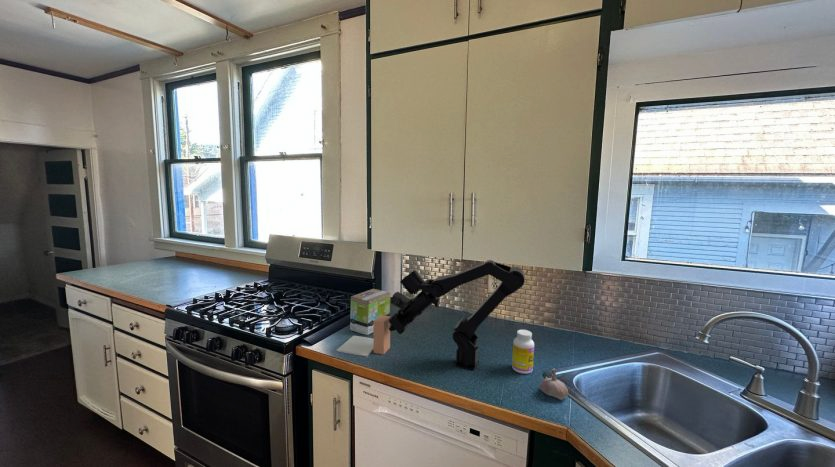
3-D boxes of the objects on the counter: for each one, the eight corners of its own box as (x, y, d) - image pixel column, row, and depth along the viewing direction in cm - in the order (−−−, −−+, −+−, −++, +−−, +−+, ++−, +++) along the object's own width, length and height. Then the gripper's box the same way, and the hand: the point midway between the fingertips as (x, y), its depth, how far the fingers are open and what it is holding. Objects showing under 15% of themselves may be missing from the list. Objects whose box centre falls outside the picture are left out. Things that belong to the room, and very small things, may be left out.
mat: (381, 341, 133) (381, 339, 133) (366, 356, 121) (366, 355, 121) (353, 336, 137) (353, 335, 137) (336, 351, 125) (336, 349, 125)
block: (390, 347, 129) (390, 316, 127) (383, 354, 123) (383, 322, 121) (380, 345, 130) (380, 315, 128) (373, 352, 124) (373, 320, 123)
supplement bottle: (529, 376, 110) (532, 338, 108) (509, 370, 113) (511, 333, 112) (534, 367, 115) (537, 331, 114) (515, 362, 119) (517, 326, 117)
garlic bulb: (534, 389, 103) (536, 364, 102) (555, 385, 105) (556, 361, 104) (551, 404, 96) (553, 377, 95) (573, 400, 98) (575, 374, 97)
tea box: (368, 336, 138) (368, 300, 136) (349, 330, 143) (349, 296, 141) (390, 324, 151) (390, 291, 149) (372, 319, 156) (372, 287, 154)
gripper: (412, 279, 130) (385, 304, 134) (394, 293, 112) (363, 321, 117) (432, 302, 128) (404, 326, 133) (417, 320, 111) (385, 347, 115)
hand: (389, 329), depth 124 cm, fingers closed
